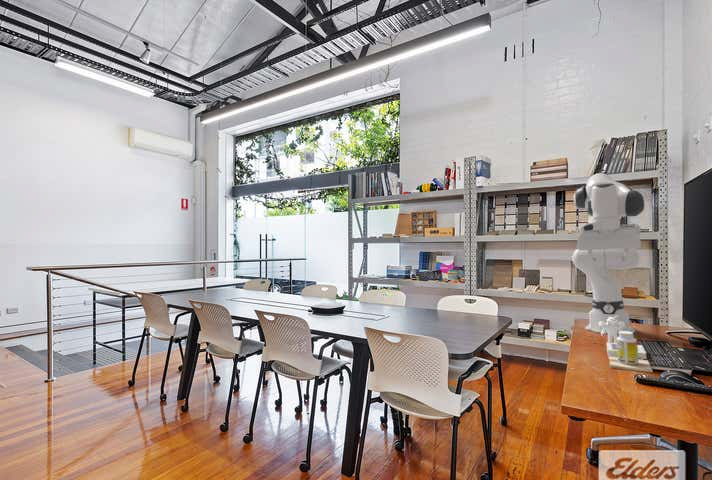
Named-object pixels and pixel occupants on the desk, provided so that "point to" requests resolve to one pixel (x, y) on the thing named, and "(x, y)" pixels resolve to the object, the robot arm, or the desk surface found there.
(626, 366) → the birch board
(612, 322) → the hat wearing toy figure
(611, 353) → the white rectangular frame
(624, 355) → the supplement bottle
